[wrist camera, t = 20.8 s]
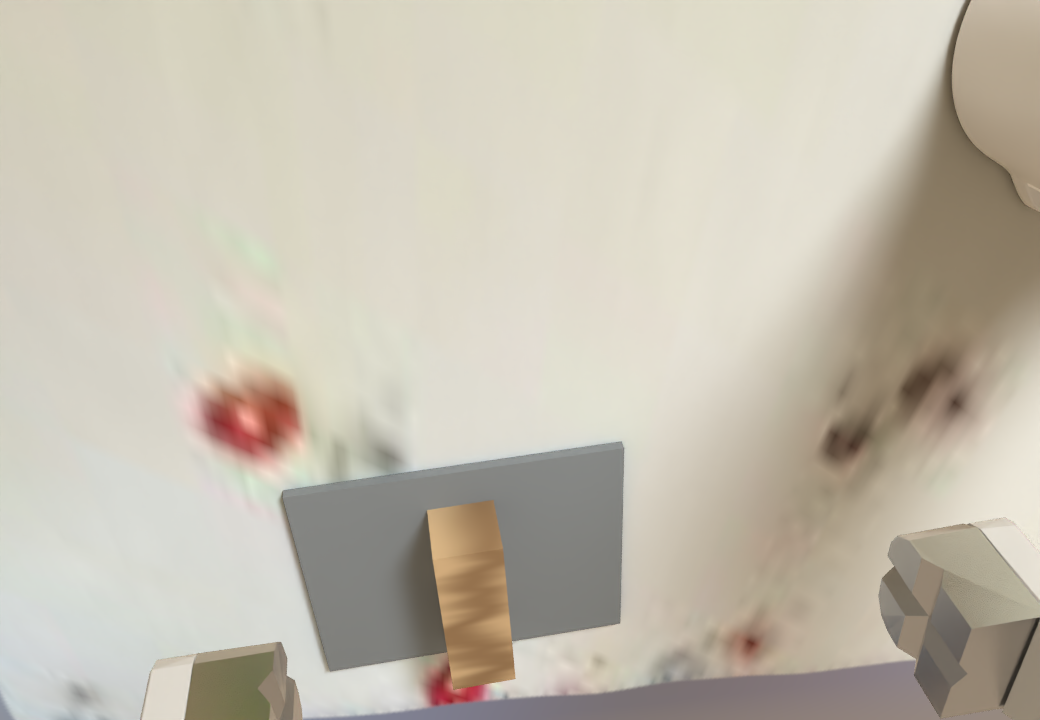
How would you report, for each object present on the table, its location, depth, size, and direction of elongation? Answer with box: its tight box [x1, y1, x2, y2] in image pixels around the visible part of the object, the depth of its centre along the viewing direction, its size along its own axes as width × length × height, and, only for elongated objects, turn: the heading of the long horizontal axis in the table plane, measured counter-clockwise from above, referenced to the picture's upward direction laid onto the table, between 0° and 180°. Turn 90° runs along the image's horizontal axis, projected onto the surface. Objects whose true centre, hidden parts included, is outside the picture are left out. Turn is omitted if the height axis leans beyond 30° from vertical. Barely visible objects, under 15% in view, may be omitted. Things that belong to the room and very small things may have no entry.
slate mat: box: [283, 442, 624, 671], centre depth 58 cm, size 20×16×1 cm
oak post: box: [427, 500, 515, 690], centre depth 56 cm, size 4×4×12 cm
